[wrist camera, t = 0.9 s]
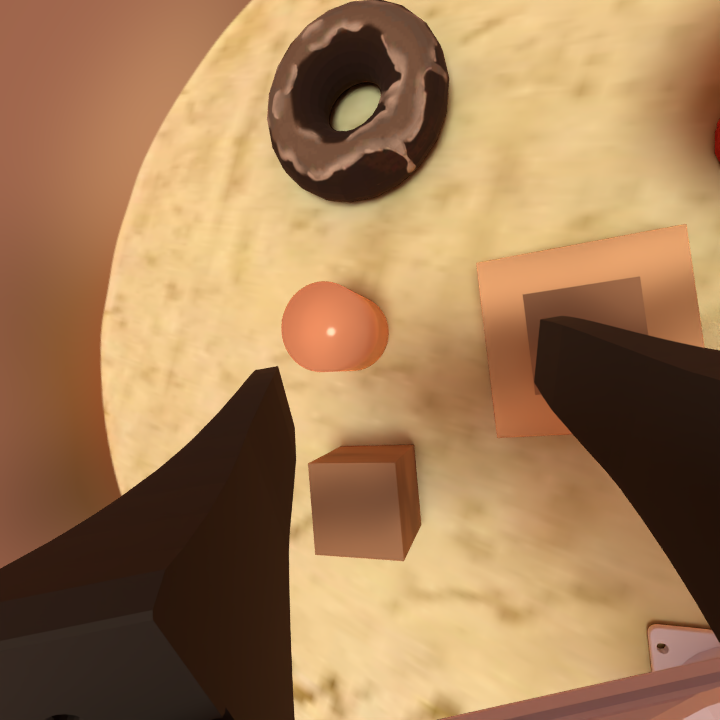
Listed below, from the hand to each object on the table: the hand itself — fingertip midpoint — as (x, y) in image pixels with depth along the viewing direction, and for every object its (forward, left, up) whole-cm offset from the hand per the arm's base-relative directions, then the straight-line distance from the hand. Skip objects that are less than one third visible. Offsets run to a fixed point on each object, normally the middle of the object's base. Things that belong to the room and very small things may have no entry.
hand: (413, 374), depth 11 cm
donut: (+17, +5, -15) cm, 23 cm away
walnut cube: (-7, +6, -14) cm, 17 cm away
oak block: (+1, -6, -15) cm, 16 cm away
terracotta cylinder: (+3, +7, -14) cm, 16 cm away
